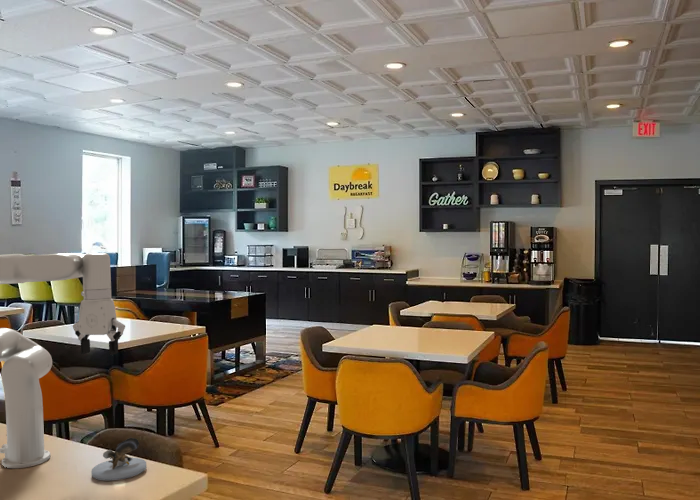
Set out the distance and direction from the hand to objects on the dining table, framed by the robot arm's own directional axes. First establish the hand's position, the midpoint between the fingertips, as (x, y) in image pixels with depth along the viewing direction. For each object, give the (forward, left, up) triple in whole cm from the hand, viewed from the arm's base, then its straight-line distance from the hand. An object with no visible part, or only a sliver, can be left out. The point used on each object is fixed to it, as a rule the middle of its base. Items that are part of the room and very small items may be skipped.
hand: (99, 353), depth 182 cm
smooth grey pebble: (+13, -10, -30) cm, 34 cm away
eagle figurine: (+12, -8, -29) cm, 32 cm away
